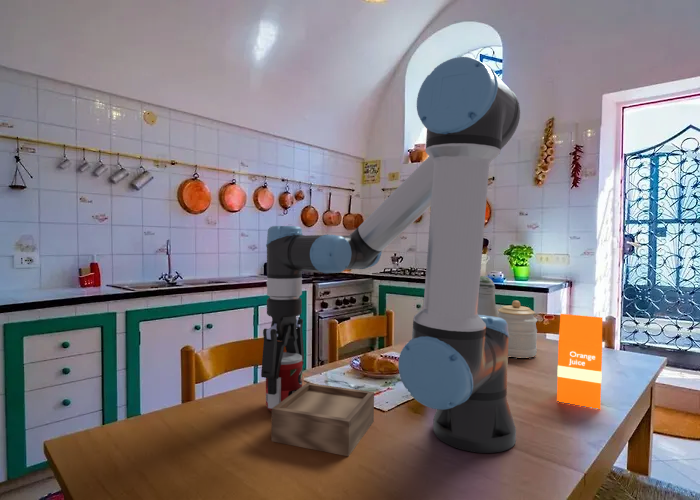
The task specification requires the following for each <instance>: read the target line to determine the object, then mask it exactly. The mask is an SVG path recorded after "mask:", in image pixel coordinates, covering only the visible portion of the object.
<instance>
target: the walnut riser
mask: <svg viewBox="0 0 700 500" xmlns="http://www.w3.org/2000/svg"><path fill="white" fill-rule="evenodd" d="M374 405H375V392H374V391H370V390H369V391H368V390H363V389H362V390H361V389H356V388H355V389H354V388H346V387H339V386H334V385H333V386H331V385H327V384H319V383H313V382H306V383H305V384H304V385H302V387H301V388H299V389H298V390H297V391H295V392H294V393H293V394H291V395H290V396H288V397H287V398H286V399H284V400H283V401H282V402H280V403H279V404H277V405H276V406H275V407H273V408H272V411H271V440H270V441H271V442H273V443H274V442H275V443H278V444H284V445H289V446H295V447H300V448H304V449H309V450H310V449H311V450H314V451H320V452H326V453H330V454H335V455H338V456H339V455H340V456H345V457H349V456H350V455H351V454H352V452H353V451H354V449H355V448H356V447H357V445H358V444H359V442H360V441H361V440H362V438H363V437H364V436H365V434H366V433H367V432H368V430H369V429H370V427H371V426H372V424H373V423H375V422H374V420H375V406H374Z"/></svg>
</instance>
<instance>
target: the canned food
mask: <svg viewBox="0 0 700 500" xmlns="http://www.w3.org/2000/svg"><path fill="white" fill-rule="evenodd" d="M279 377H281V402H282V401H283V400H284V399H286V398H287V397H288V396H290V395H291V394H293V393H294V392H295V391H297V390H298V389H299V388H301V387H302V386H303V366H302V356H301V355H300V354H297V353H288V352H286V351H283V356H282V361H281V367H280V372H279ZM265 407H266V409H267V410H269V411H270V412H272V409H271V408H268V379H267V378H265Z"/></svg>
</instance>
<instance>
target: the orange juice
mask: <svg viewBox="0 0 700 500" xmlns="http://www.w3.org/2000/svg"><path fill="white" fill-rule="evenodd" d="M559 317H560V318H559V319H560V320H559V330H558V331H559V332H558V349H557V351H558V352H557V373H556V374H557V387H556V391H557V392H556V402H557V401H559V402H564V403H570V404H575V405H580V406H579V407H581V406H586V407H592V408H598V409H600V410H601V404H602V403H601V401H602V400H601V395H602V375H603V374H602V373H603V372H602V369H603V368H602V365H603V364H602V363H603V317H600V316H590V315H589V316H588V315H578V314H577V315H576V314H567V313H560V315H559ZM559 402H558V403H559ZM564 403H563V404H564ZM570 404H569V405H570ZM575 405H574V406H575ZM586 407H585V408H586ZM592 408H591V409H592Z"/></svg>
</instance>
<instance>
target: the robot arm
mask: <svg viewBox="0 0 700 500" xmlns="http://www.w3.org/2000/svg"><path fill="white" fill-rule="evenodd" d="M495 72H496V71H494V70H493V68H491V67H490V65H488V64H486V63H484V62H481V61H480V60H478V59H476V58H474V57H470V56H457V57H452V58H450V59H448V60H445V61H443V62H442V63H440V64H439V65H437V66H436V67H435V68H433V70H432V71H431V73H429V74H428V75H427V76H426V77H425V79H424V80H423V81H422V84H421V85H420V88H419V89H418V90H419V91H418V93H417V97H416V111H417V115H418V117H419V120H420V122H421V124H422V125H423V126H424V127H425V129H426V136H425V137H426V139H425V153H426V154H427V155H428V157H427V158H426V159H425V160H424V161H423V162H422V163H421V164H420V165H419V166H417V168H416V169H415V170H414V171H413V172H412V173H410V175H409V176H407V178H406V179H405V180H404V181H403V182H402V183H401V184H399V186H398V187H397V188H396V189H395V190H393V192H392V193H390V195H389V196H387V197H386V199H384V200H383V202H382V203H381V204H380V205H379V206H378V207H377V208H376V209H375V210H373V212H371V213H370V215H369V216H368V217H367V218H366V219H364V221H363V222H362V223H361V224H360V225H359V226H358V227H356V229H355V230H354V231H353V232H351V234H349V235H336V234H327V233H326V234H315V235H314V234H310V235H307V234H306V235H303V229H302V227H301V226H298V225H272V226H269V228H268V229H267V236H266V244H265V247H266V282H265V283H266V295H267V297H268V298H267V299H266V315H267V316H269V317H271V324H270V327H269V328H264V329H263V331H262V336H263V347H262V358H261V359H262V361H261V371H260V372H261V373H260V377H261V378H264V379H266V378H267V379H268V408H271V409H272V408H273V407H275V406H276V405H277V404H279V403H280V402H281V377H279V372H280V367H281V361H282V356H283V352H288V353H297V354H300V355H301V356H302V367H303V366H304V360H305V351H304V349H305V348H304V337H303V335H304V334H303V325H304V319H303V318H297V317H298V316H301V314H302V312H303V311H302V307H303V306H302V305H303V301H302V300H303V299H302V297H300V296H302V295H303V279H302V278H303V272H314V273H315V272H316V273H323V274H336V273H337V274H339V273H342V272H343V271H346V270H347V271H348V270H356V269H357V270H365V269H368V268H371V267H374V266H376V264H378V262H379V261H380V259H381V256H382V251H383V250H385V249H386V248H387V247H389V245H390V244H392V242H393V241H395V240H396V238H398V237H399V236H400V235H401V234H402V233H404V232H405V231H406V230H407V228H409V227H410V226H411V225H412V224H413V223H414V222H415V221H416V220H418V219H419V218H420V217H421V216H422V215H423V214H424V213H425V212H426V211H428V210H429V209H430V216H429V228H428V239H427V240H428V242H427V243H428V244H427V254H426V255H427V257H426V268H425V269H426V270H425V281H424V282H425V283H424V294H423V296H424V297H423V307H422V309H421V310H419V311H418V312H417V313H415V315H414V316H413V320H412V332H411V339H410V340H408V342H406V344H405V345H404V346H403V348H402V349H401V351H400V354H399V357H398V362H397V364H398V372H399V373H398V374H399V377H400V380H401V382H402V384H403V386H404V388H405V389H407V390H408V393H410V396H411V397H412V398H413V399H414V400H416V401H417V402H418V403H420V404H421V405H423V406H425V407H427V408H430V409H433V410H435V413H434V417H433V433H434V435H435V436H436V437H437V438H438V439H439V441H441V442H443V443H445V444H446V445H448V446H450V447H453V448H456V449H458V450H463V451H468V452H472V453H479V454H481V453H483V454H494V453H501V452H505V451H507V450H511V448H513V447H514V446H515V445H516V441H517V440H516V439H517V429H516V425H515V421H514V418H513V414H512V411H511V408H510V405H509V402H508V397H507V395H508V391H507V390H508V364H509V363H508V361H509V360H508V359H509V357H508V339H509V334H508V324H507V322H506V321H505V320H504V319H502V318H499V317H493V316H486V315H478V313H477V309H478V297H479V285H480V276H481V269H482V256H483V248H484V247H483V245H484V236H485V235H484V233H485V232H484V231H485V222H486V208H487V197H488V196H487V194H488V184H489V171H490V164H491V162H493V160H494V159H496V158H497V157H499V155H500V154H501V152H502V151H501V150H502V149H503V148H504V147H505V146H506V145H507V144H508V142H510V140H511V138H513V136H514V134H515V132H516V131H517V129H518V126H519V122H520V119H521V107H520V103H519V99H518V97H517V95H516V94H515V92H514V91H513V89H512V88H510V87H509V86H508V85H506V83H505V82H504V81H503V80H502V79H501V78H500V77H499V76H498V75H497V73H495ZM284 350H285V351H284ZM268 408H267V409H268Z"/></svg>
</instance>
